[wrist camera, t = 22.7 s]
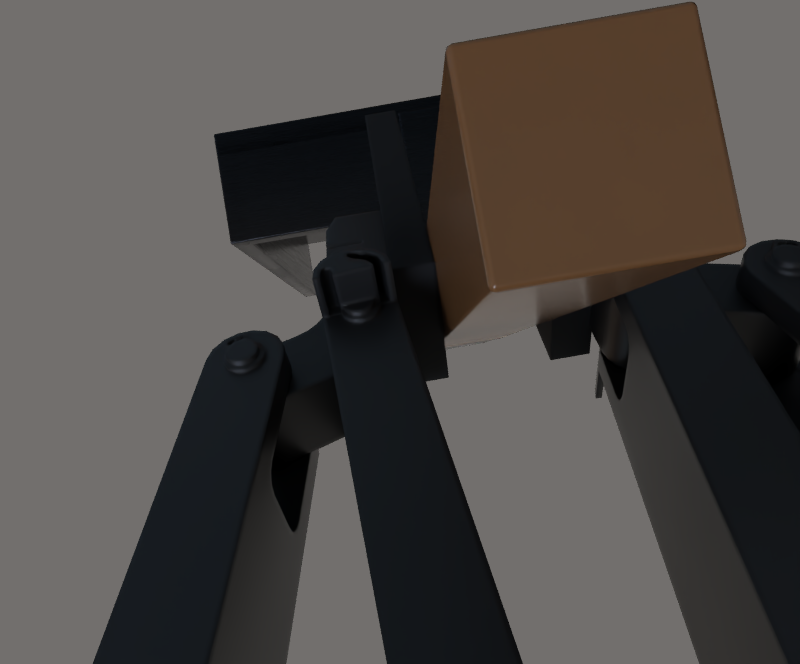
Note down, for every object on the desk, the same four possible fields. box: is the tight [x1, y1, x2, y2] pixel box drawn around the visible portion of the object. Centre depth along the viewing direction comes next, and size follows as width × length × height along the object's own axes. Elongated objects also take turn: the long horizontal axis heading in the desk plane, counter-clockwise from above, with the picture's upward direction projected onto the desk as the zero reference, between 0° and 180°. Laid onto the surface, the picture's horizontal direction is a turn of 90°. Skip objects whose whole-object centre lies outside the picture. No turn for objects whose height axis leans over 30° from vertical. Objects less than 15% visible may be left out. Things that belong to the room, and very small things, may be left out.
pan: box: [214, 2, 746, 349], centre depth 19 cm, size 29×13×8 cm, turn 1°
